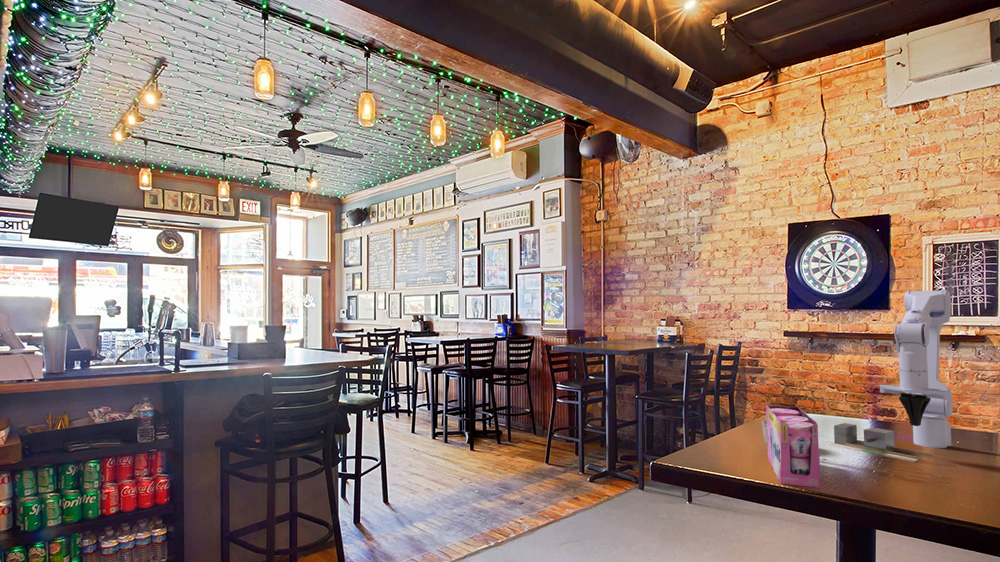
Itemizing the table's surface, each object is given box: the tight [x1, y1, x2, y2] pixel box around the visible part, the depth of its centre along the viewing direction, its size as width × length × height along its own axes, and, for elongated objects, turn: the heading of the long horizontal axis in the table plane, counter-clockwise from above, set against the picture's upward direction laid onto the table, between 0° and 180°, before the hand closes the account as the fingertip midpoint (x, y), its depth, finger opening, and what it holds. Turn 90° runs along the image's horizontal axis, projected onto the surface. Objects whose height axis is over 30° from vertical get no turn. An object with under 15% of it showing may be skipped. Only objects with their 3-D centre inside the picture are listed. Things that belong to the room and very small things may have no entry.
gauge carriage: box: [863, 427, 896, 452], centre depth 140 cm, size 8×5×5 cm, turn 122°
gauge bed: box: [826, 422, 933, 463], centre depth 141 cm, size 12×22×6 cm, turn 32°
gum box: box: [765, 405, 821, 489], centre depth 126 cm, size 24×8×14 cm, turn 160°
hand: (915, 425), depth 134 cm, fingers closed
